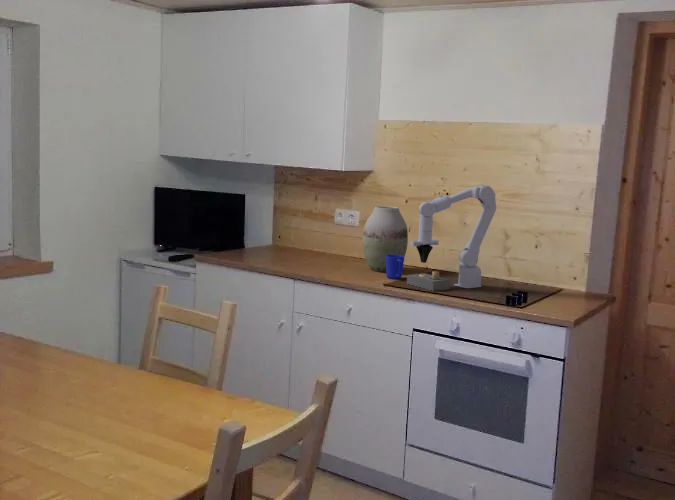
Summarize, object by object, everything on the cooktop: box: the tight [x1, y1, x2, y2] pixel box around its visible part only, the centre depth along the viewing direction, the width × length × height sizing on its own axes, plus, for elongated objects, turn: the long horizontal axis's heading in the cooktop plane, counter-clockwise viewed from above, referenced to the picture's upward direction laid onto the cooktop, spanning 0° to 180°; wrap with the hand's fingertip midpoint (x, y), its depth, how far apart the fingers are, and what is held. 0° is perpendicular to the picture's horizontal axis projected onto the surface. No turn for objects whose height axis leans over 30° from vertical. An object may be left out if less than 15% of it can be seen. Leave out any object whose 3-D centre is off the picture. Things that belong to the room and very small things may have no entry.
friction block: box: [406, 272, 452, 292], centre depth 309 cm, size 10×16×4 cm, turn 37°
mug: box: [385, 255, 405, 280], centre depth 324 cm, size 8×12×10 cm
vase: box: [362, 205, 409, 273], centre depth 344 cm, size 21×21×30 cm
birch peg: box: [431, 270, 440, 280], centre depth 305 cm, size 3×3×4 cm
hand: (423, 262), depth 311 cm, fingers closed
